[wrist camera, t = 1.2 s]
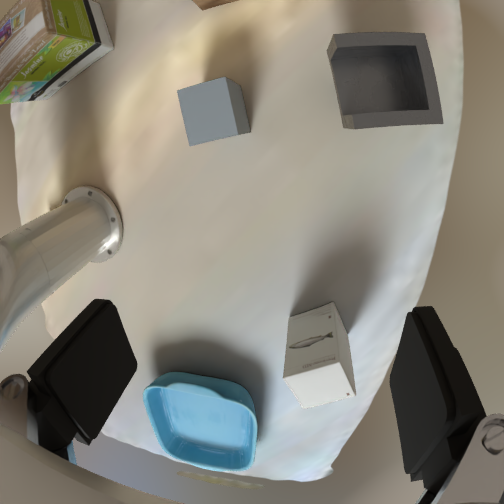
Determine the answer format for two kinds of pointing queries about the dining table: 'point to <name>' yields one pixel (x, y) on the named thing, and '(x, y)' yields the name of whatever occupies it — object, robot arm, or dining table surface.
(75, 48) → the tea box
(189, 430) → the casserole dish
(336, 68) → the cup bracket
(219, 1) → the rail
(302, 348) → the supplement box
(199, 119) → the grey blue block
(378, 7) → the dining table surface
